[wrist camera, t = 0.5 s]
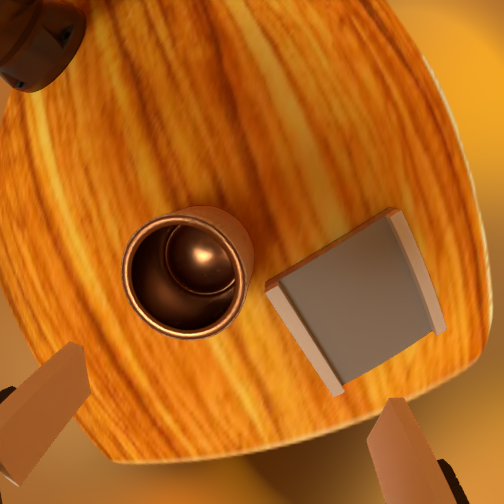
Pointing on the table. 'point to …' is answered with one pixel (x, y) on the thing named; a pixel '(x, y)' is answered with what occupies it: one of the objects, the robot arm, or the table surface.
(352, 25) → the table surface
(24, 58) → the robot arm
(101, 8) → the table surface
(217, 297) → the planter
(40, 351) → the table surface
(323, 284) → the grey square tray
